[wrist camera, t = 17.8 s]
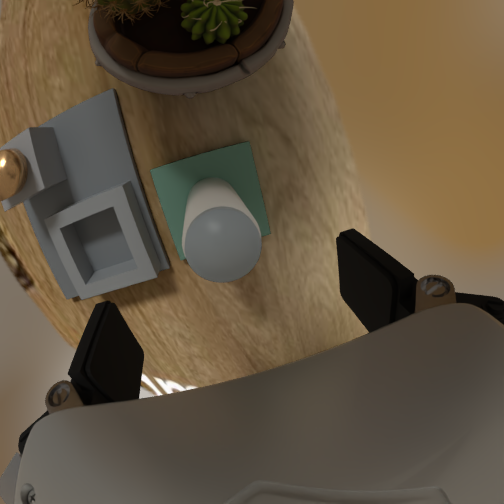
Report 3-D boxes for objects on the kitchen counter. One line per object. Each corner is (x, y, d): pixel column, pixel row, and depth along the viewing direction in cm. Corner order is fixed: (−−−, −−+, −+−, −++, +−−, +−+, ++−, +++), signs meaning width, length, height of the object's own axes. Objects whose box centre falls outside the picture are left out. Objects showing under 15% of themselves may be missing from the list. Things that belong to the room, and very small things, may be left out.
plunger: (16, 155, 20) (-20, 164, 14) (44, 137, 20) (8, 141, 14) (26, 192, 22) (-8, 208, 16) (55, 176, 22) (21, 189, 16)
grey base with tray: (12, 146, 21) (-18, 152, 15) (115, 89, 22) (95, 79, 16) (69, 295, 29) (52, 323, 24) (170, 264, 30) (165, 292, 25)
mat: (151, 169, 26) (150, 170, 25) (247, 141, 26) (249, 141, 26) (181, 256, 30) (180, 260, 29) (268, 230, 31) (270, 234, 30)
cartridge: (181, 185, 26) (170, 220, 15) (230, 171, 26) (256, 197, 16) (194, 231, 28) (195, 293, 17) (241, 218, 29) (271, 273, 18)
